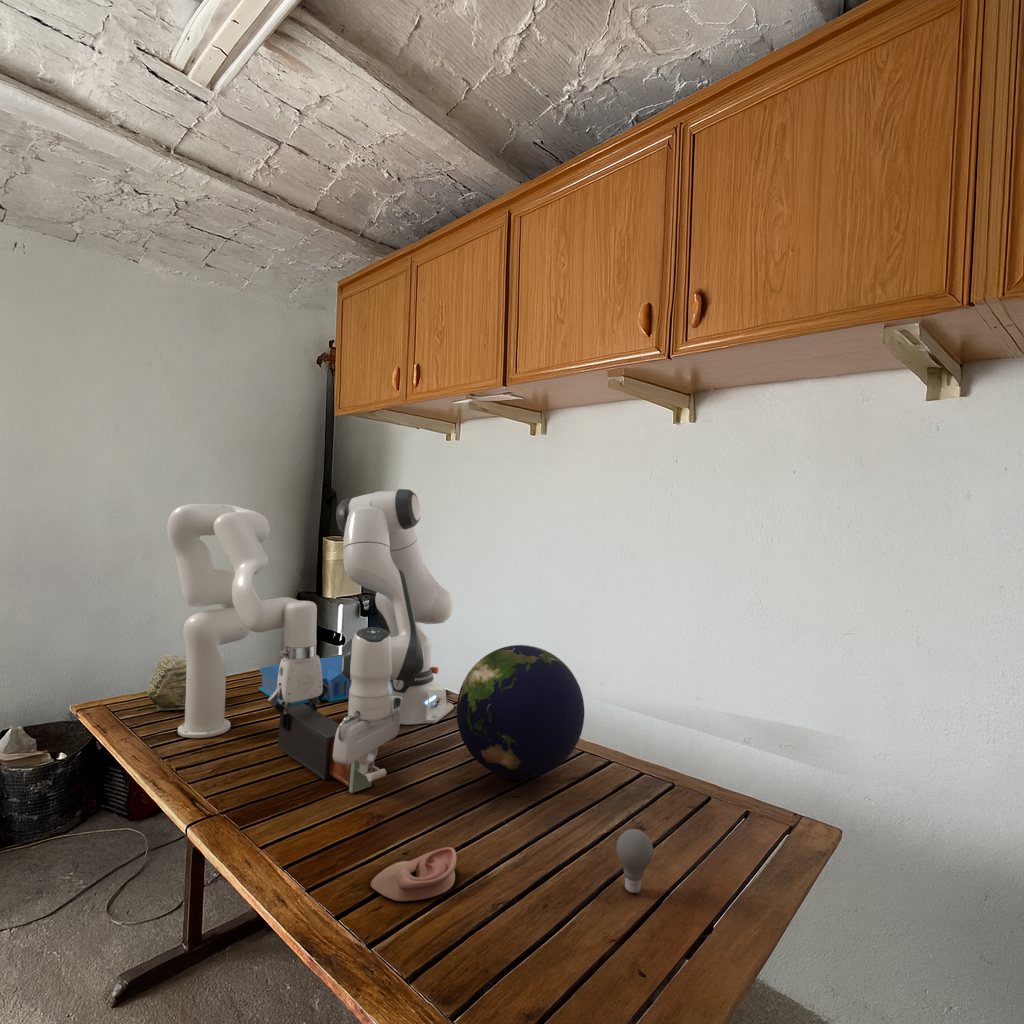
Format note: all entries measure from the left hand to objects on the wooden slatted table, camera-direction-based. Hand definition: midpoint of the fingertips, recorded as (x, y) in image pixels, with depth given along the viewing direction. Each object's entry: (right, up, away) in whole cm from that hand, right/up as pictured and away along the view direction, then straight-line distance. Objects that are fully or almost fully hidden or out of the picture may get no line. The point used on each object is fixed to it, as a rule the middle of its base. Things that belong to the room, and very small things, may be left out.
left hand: (298, 724), depth 155 cm
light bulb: (+72, -11, -49) cm, 88 cm away
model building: (-7, -6, +53) cm, 54 cm away
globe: (+53, -10, -6) cm, 55 cm away
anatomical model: (+36, -10, -49) cm, 62 cm away
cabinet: (+5, -7, -4) cm, 9 cm away
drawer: (+14, -8, -13) cm, 20 cm away
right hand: (+21, -3, -20) cm, 29 cm away
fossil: (-44, -5, +30) cm, 54 cm away
